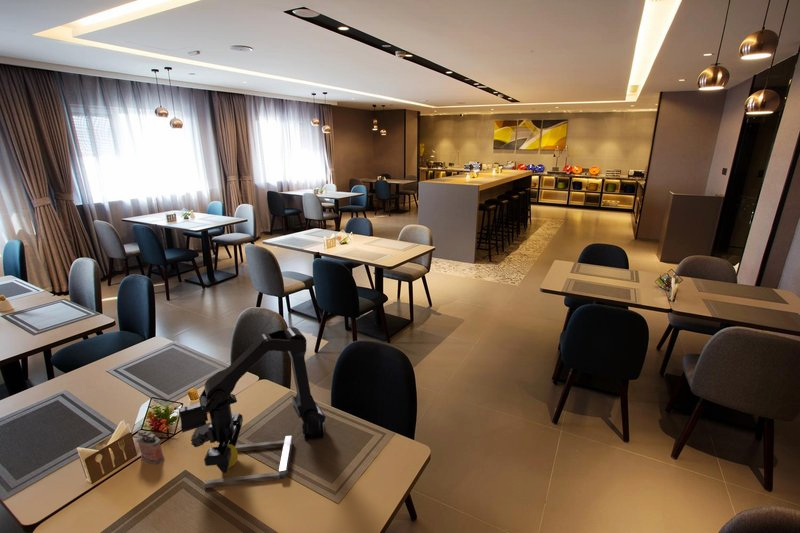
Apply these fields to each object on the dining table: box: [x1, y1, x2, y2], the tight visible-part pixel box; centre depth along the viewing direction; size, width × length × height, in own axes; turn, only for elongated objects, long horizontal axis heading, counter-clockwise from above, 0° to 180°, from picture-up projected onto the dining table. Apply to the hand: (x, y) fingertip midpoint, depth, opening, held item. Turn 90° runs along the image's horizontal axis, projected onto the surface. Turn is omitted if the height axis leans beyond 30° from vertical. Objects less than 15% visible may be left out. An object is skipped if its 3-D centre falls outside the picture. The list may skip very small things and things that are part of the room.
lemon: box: [228, 444, 239, 469], centre depth 119 cm, size 6×6×8 cm
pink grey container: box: [136, 429, 165, 465], centre depth 122 cm, size 8×3×10 cm, turn 71°
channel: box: [203, 435, 293, 489], centre depth 120 cm, size 23×14×3 cm, turn 98°
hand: (228, 460), depth 119 cm, fingers open, 9 cm apart
